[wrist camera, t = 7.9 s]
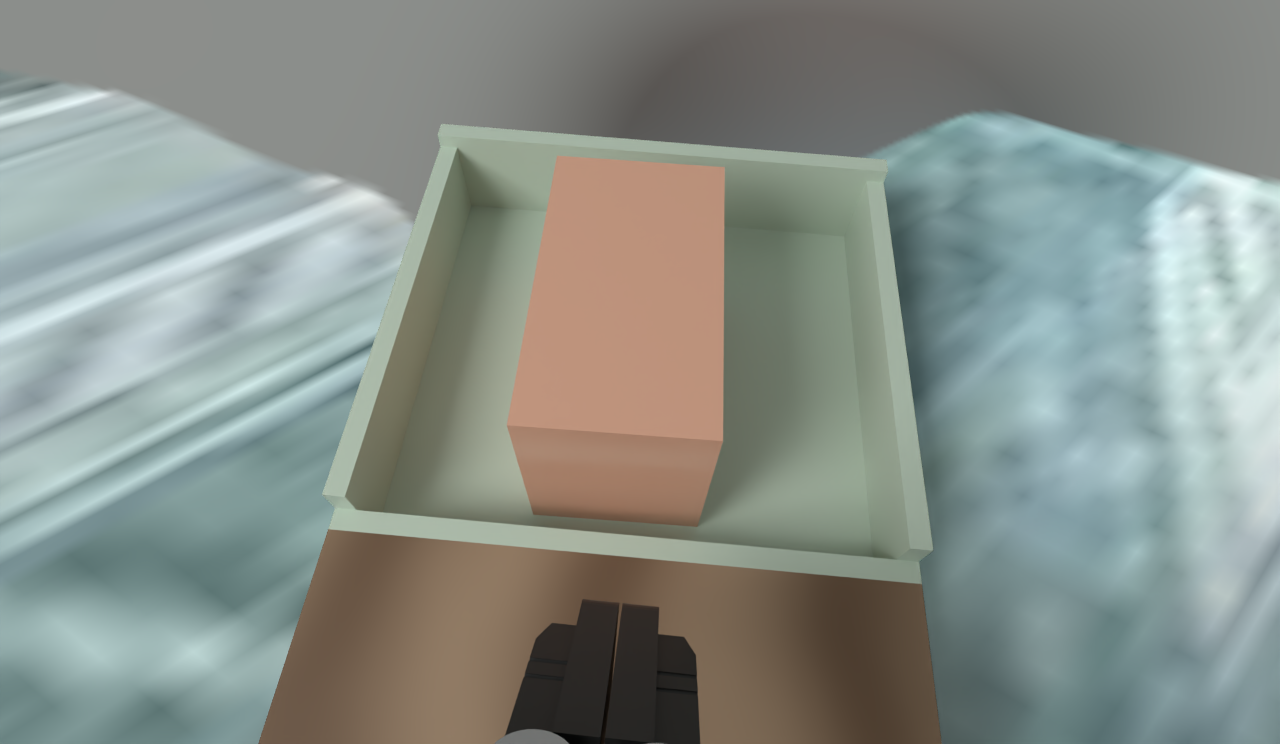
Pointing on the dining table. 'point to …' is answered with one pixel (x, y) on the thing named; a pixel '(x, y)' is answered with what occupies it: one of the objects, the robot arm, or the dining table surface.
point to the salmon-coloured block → (624, 344)
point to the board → (552, 593)
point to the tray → (752, 375)
